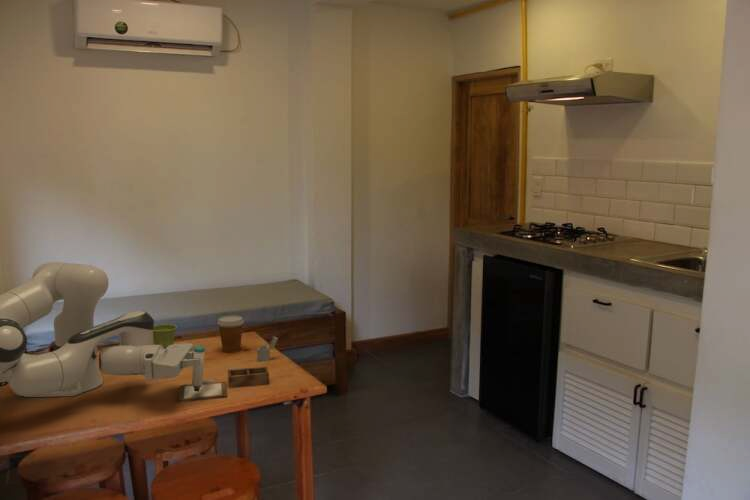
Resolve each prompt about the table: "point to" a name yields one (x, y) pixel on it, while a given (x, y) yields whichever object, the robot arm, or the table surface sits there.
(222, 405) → the table surface
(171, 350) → the robot arm
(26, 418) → the table surface
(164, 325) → the plant pot
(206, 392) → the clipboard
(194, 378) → the marker
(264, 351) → the lighter
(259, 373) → the box
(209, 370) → the table surface
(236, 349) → the disposable coffee cup
